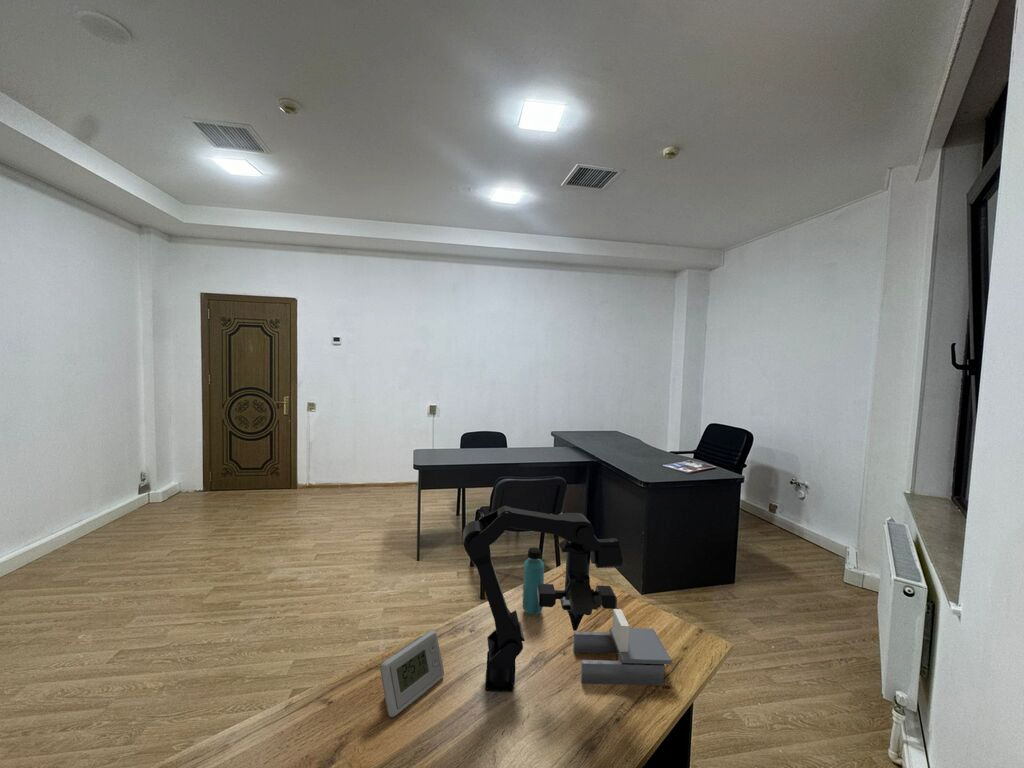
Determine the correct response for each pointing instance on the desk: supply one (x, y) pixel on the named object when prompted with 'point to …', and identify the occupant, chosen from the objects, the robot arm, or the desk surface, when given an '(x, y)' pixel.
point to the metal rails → (612, 663)
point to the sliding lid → (637, 642)
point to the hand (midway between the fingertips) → (574, 629)
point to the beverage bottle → (532, 581)
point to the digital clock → (411, 672)
